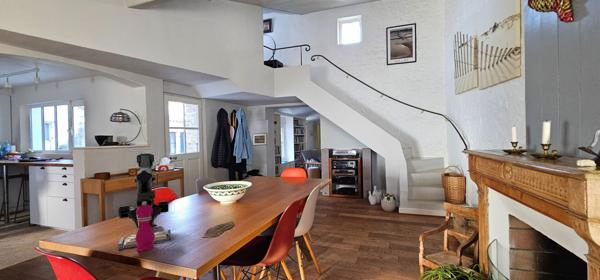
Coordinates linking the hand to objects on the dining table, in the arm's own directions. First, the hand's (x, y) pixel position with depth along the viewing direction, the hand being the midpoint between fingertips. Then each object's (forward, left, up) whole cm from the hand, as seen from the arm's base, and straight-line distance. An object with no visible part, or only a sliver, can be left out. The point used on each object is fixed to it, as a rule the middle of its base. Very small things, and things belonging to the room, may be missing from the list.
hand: (144, 226), depth 112 cm
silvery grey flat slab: (-9, +5, -10) cm, 14 cm away
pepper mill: (-1, +1, -10) cm, 10 cm away
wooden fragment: (+9, +33, -10) cm, 36 cm away
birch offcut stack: (-9, +5, -9) cm, 13 cm away
